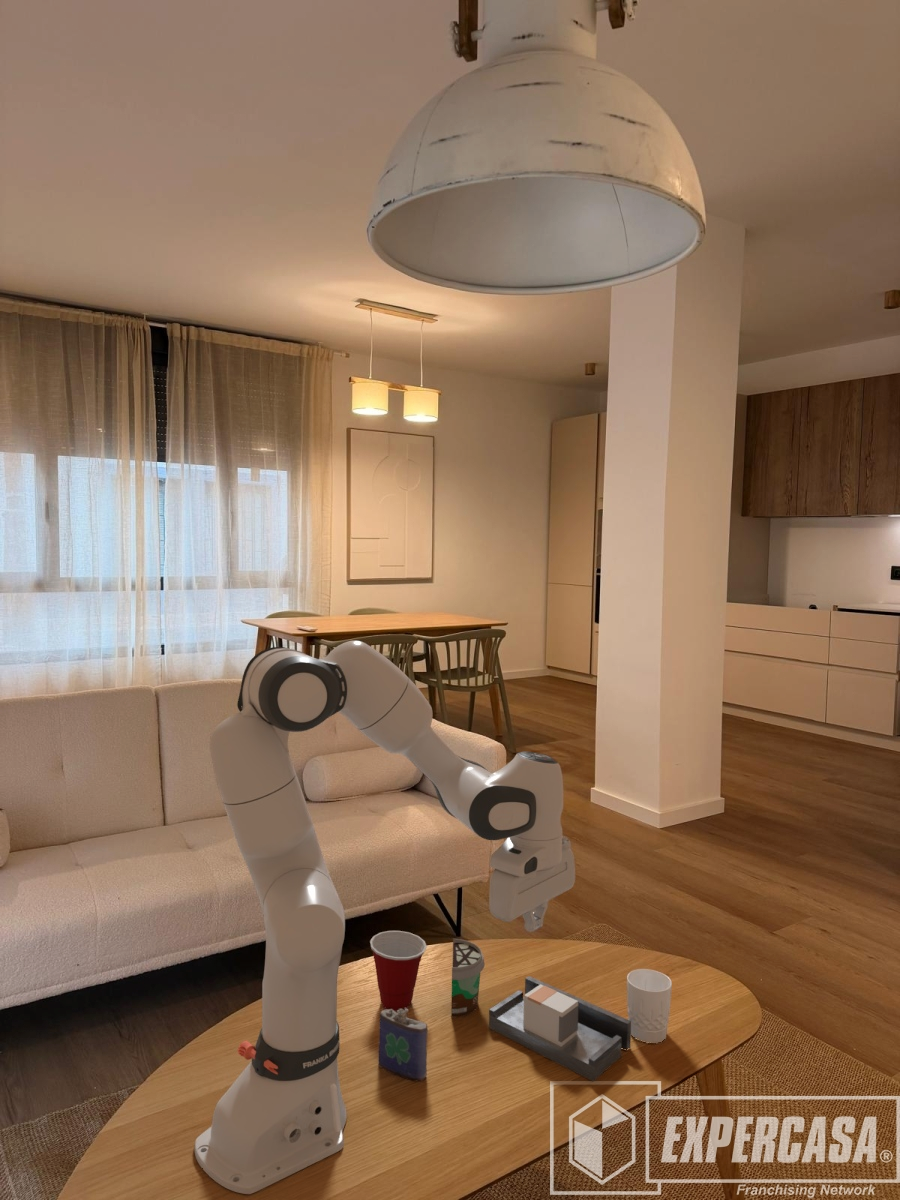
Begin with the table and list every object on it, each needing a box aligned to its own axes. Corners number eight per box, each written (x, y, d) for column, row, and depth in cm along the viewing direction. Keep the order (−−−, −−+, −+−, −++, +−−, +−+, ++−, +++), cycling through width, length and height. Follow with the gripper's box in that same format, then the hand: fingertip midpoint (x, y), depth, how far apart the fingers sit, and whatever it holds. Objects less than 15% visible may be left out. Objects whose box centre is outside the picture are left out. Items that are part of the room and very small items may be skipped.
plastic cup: (424, 1019, 151) (425, 956, 150) (366, 1018, 151) (367, 955, 150) (426, 988, 162) (427, 929, 161) (372, 987, 162) (372, 928, 161)
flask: (429, 1075, 135) (430, 1013, 134) (419, 1085, 133) (420, 1021, 132) (383, 1057, 140) (384, 996, 139) (373, 1066, 137) (374, 1004, 137)
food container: (484, 1022, 151) (485, 970, 150) (451, 1021, 151) (452, 969, 150) (483, 987, 163) (484, 938, 162) (452, 986, 163) (453, 937, 162)
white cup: (668, 1050, 143) (670, 995, 143) (622, 1040, 146) (624, 986, 145) (671, 1025, 151) (673, 973, 150) (627, 1017, 153) (629, 965, 153)
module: (561, 1047, 139) (562, 1012, 139) (523, 1028, 145) (523, 995, 144) (577, 1034, 143) (578, 1000, 143) (539, 1016, 149) (540, 983, 148)
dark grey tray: (593, 1081, 134) (594, 1052, 134) (488, 1028, 149) (489, 1001, 149) (630, 1048, 143) (631, 1021, 143) (528, 1001, 158) (529, 976, 158)
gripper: (554, 828, 147) (553, 903, 148) (483, 859, 132) (481, 943, 133) (585, 837, 143) (582, 914, 144) (514, 870, 128) (512, 956, 129)
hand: (533, 928), depth 138 cm, fingers closed
